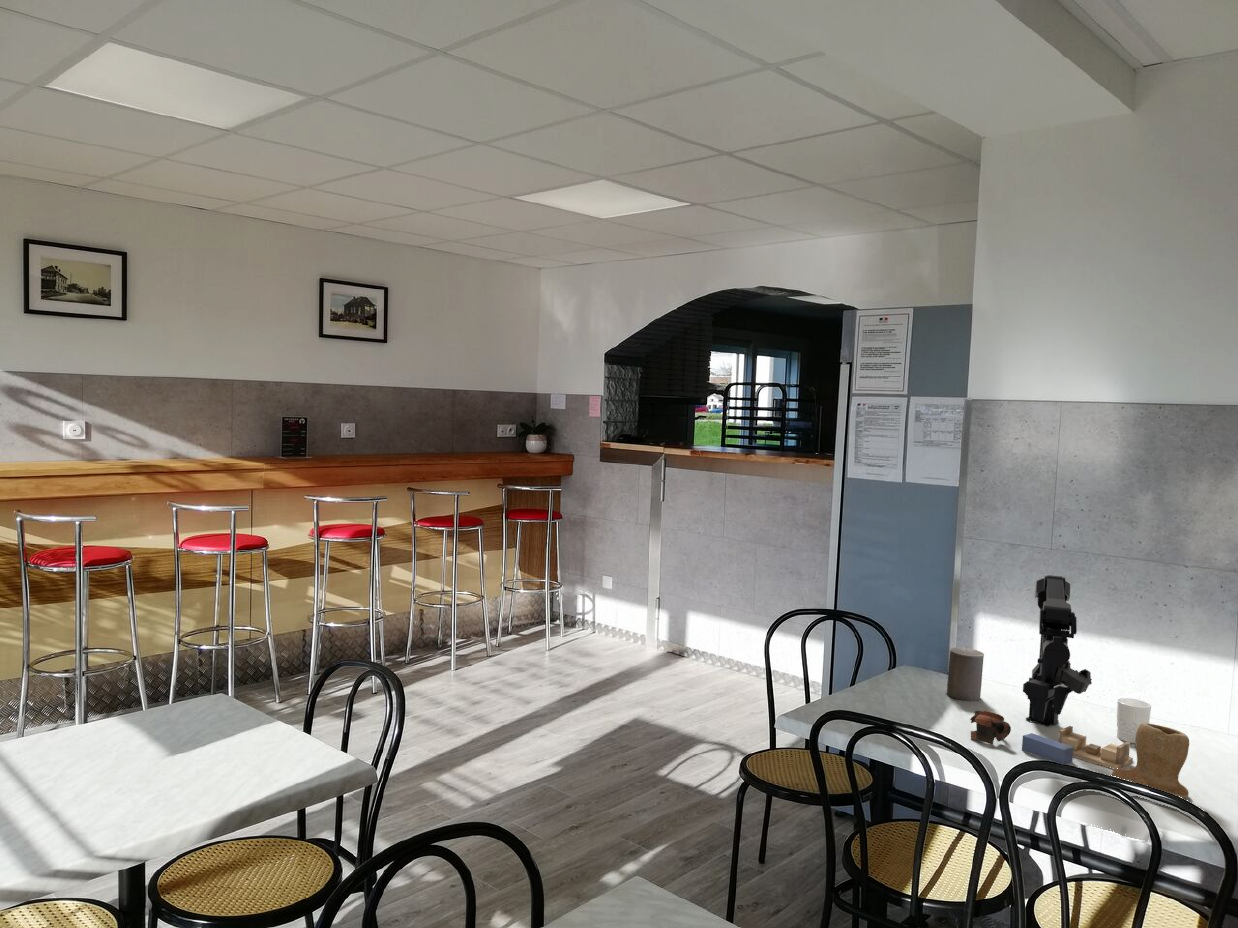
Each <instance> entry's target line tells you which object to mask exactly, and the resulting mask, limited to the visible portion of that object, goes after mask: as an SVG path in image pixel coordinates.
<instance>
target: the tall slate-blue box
mask: <svg viewBox="0 0 1238 928" xmlns="http://www.w3.org/2000/svg"><path fill="white" fill-rule="evenodd" d="M1021 741H1022V744H1021V751H1023V752H1025V753H1028V754H1031V753H1032V754H1031V755H1034V756H1036V757H1039V758H1043V759H1045V760H1048V761H1051V762H1052V763H1053V762H1054V763H1057V764H1060V765H1062V766H1064V765H1068V764H1072V763H1073V760H1074V757H1073V747H1072V746H1069V745H1066V744H1063V743H1060V742H1059V741H1057V740H1054V739H1050V738H1047V737H1044V736H1042V735H1038V734H1036V733H1033V732H1031V733H1027V734H1024V735H1022V739H1021Z"/></svg>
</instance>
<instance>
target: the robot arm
mask: <svg viewBox="0 0 1238 928" xmlns="http://www.w3.org/2000/svg"><path fill="white" fill-rule="evenodd" d="M1034 588H1035V589H1034V590H1035V591H1034V598H1037V600H1036V601H1037V606H1038V608H1039V617H1038V618H1039V623H1038V624H1039V625H1038V629H1039V630H1038V631H1039V632H1038V634H1039V635H1040V643H1039V655H1038V657H1039V658H1037V664H1036V665H1035V666H1034V668H1033V669H1032V670H1031V677H1028V681H1026V682H1024V683H1023V684H1022V693H1025V696H1027V700H1029V709H1028V711H1029V712H1028V716H1027V717H1025V720H1026V721H1028V722H1033V723H1036V724H1040V725H1043V726H1047V727H1051V726H1053V725H1055V724H1058V723H1059V715H1061V714H1062V710H1063V708H1064V706H1065V703H1066V701H1067V698H1068V696H1069V695H1070V694H1071V693H1073V692H1074V693H1076V694H1078V695H1081V694H1082V693H1086V692H1087V690H1088V688H1089V687H1090V686H1091V685H1092V680H1093V679H1092V676H1091V671H1089V670H1088V669H1086V668H1084V669H1082V670H1080V671H1078V670H1077V669H1076V670H1075V669H1073V668H1071V662H1070V658H1071V651H1070V648H1069V645H1068V643H1069V639H1074V638H1075V635H1077V631H1078V630H1077V623H1078V622H1077V616H1076V613H1075V612H1074V611H1072V606H1071V604H1070V603H1068V602H1069V601H1070V598H1071V583H1069V582H1068V581H1067V580H1066V577H1063V576H1062V575H1054V574H1052V575H1051V574H1047V575H1044V577H1043V578H1041V579H1037V580H1036V582H1035V587H1034Z"/></svg>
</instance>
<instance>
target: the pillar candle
mask: <svg viewBox="0 0 1238 928" xmlns="http://www.w3.org/2000/svg"><path fill="white" fill-rule="evenodd" d="M984 656H985V654H984V652H982V651H980V650H977V649H973V648H969V647H967V646H965V647H951V648H950V649H949V658H948V659H949V660H948V672H947V673H948V674H947V681H946V682H947V683H946V686H947V687H946V693H945V694H946V695H947V696H948V697H950V698H952V699H956V700H959V701H965V702H976V701H979V700H980V699H981V696H982V695H981V694H982V693H981V692H982V681H983V680H982V679H983V669H984V658H985V657H984Z"/></svg>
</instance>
